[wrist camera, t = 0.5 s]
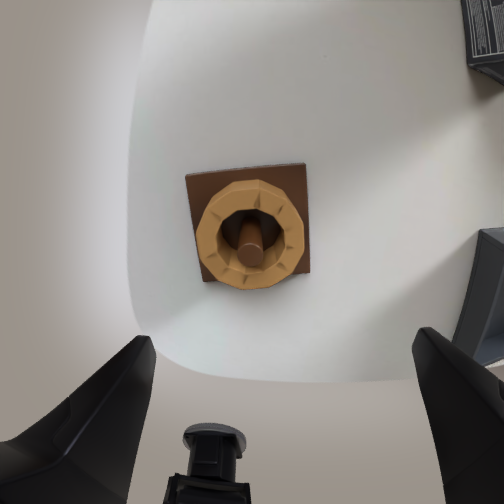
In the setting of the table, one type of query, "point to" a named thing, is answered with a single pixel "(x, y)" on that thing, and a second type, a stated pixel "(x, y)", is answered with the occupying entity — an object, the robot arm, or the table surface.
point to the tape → (274, 258)
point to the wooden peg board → (251, 211)
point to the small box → (485, 36)
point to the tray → (484, 302)
